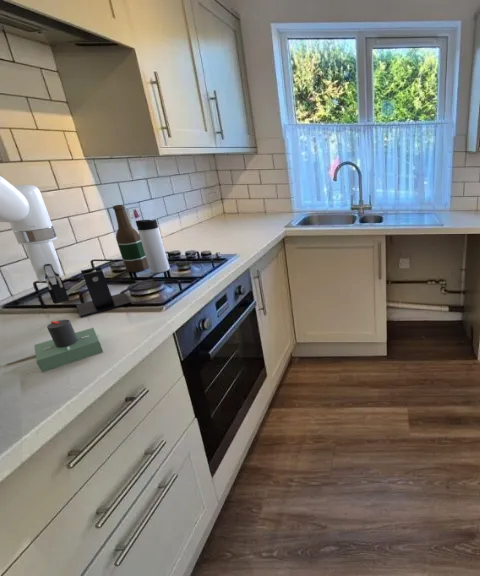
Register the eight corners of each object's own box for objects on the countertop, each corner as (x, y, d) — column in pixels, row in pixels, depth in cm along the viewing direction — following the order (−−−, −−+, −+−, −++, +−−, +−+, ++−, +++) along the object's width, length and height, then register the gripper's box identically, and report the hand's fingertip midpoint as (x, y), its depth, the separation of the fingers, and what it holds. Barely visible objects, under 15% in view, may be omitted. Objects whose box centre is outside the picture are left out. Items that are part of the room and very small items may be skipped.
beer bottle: (154, 266, 139) (136, 204, 129) (134, 273, 133) (113, 208, 123) (141, 264, 142) (122, 202, 133) (121, 271, 136) (99, 206, 126)
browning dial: (81, 339, 84) (73, 319, 82) (63, 348, 81) (54, 328, 79) (69, 337, 85) (61, 317, 83) (51, 346, 82) (41, 325, 80)
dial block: (41, 372, 78) (35, 360, 77) (39, 355, 84) (34, 344, 83) (103, 351, 85) (98, 340, 83) (97, 337, 91) (93, 326, 89)
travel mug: (146, 275, 131) (129, 221, 123) (159, 269, 137) (143, 216, 129) (162, 276, 130) (146, 221, 122) (174, 269, 136) (159, 216, 128)
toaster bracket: (82, 320, 99) (66, 281, 95) (77, 309, 106) (62, 271, 101) (132, 306, 107) (120, 269, 102) (125, 296, 114) (113, 261, 109)
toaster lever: (63, 304, 97) (55, 298, 96) (61, 297, 101) (53, 291, 100) (103, 279, 102) (96, 273, 100) (100, 274, 106) (93, 267, 104)
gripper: (15, 232, 95) (40, 292, 102) (16, 244, 84) (43, 310, 90) (52, 227, 100) (73, 285, 107) (58, 238, 88) (81, 301, 95)
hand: (60, 296), depth 98 cm, fingers open, 9 cm apart
